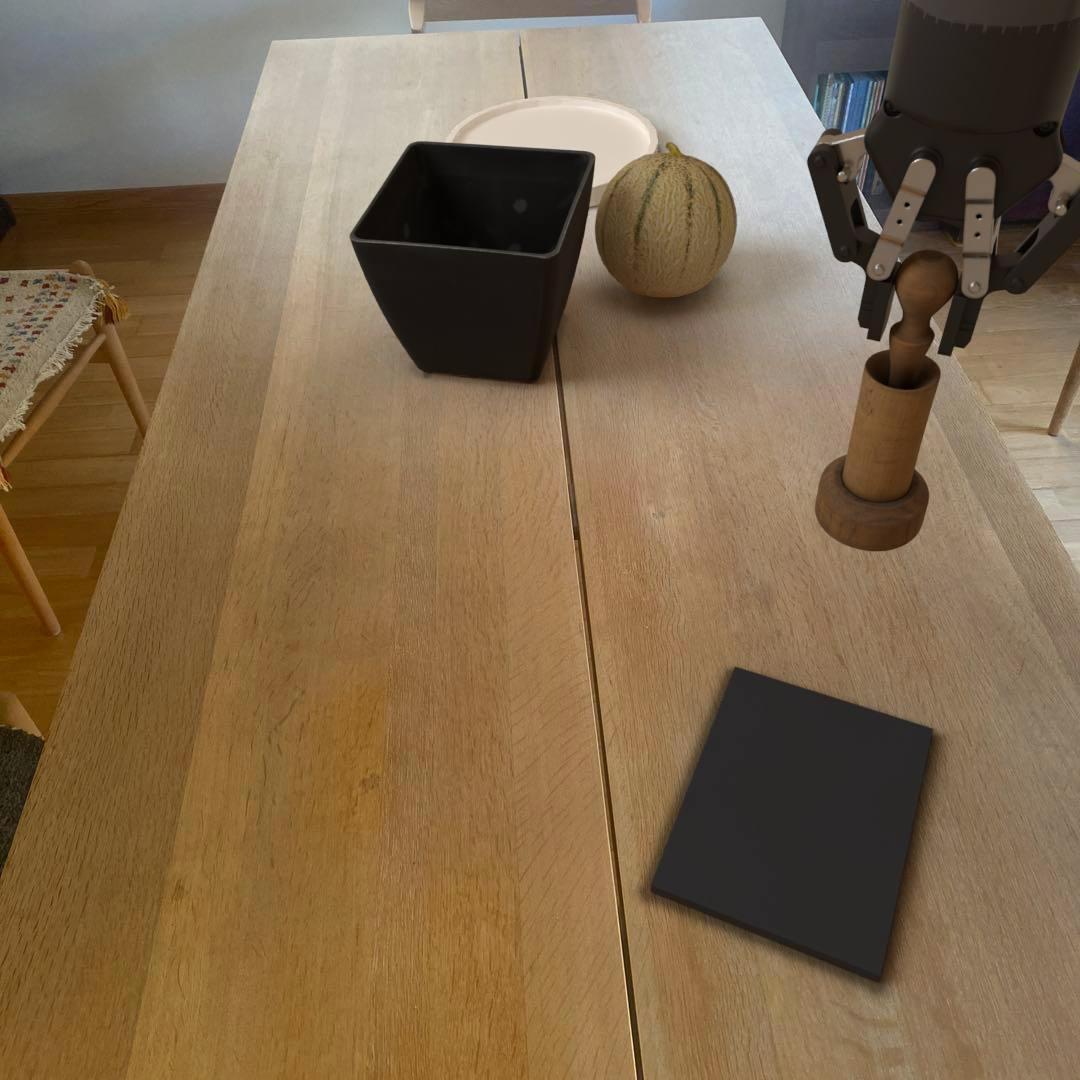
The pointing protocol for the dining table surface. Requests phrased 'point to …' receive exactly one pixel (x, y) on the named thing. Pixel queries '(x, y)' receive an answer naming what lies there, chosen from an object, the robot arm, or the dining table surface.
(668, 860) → the mat
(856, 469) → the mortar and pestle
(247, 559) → the dining table surface
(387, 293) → the flower pot
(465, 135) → the plate
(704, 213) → the cantaloupe
